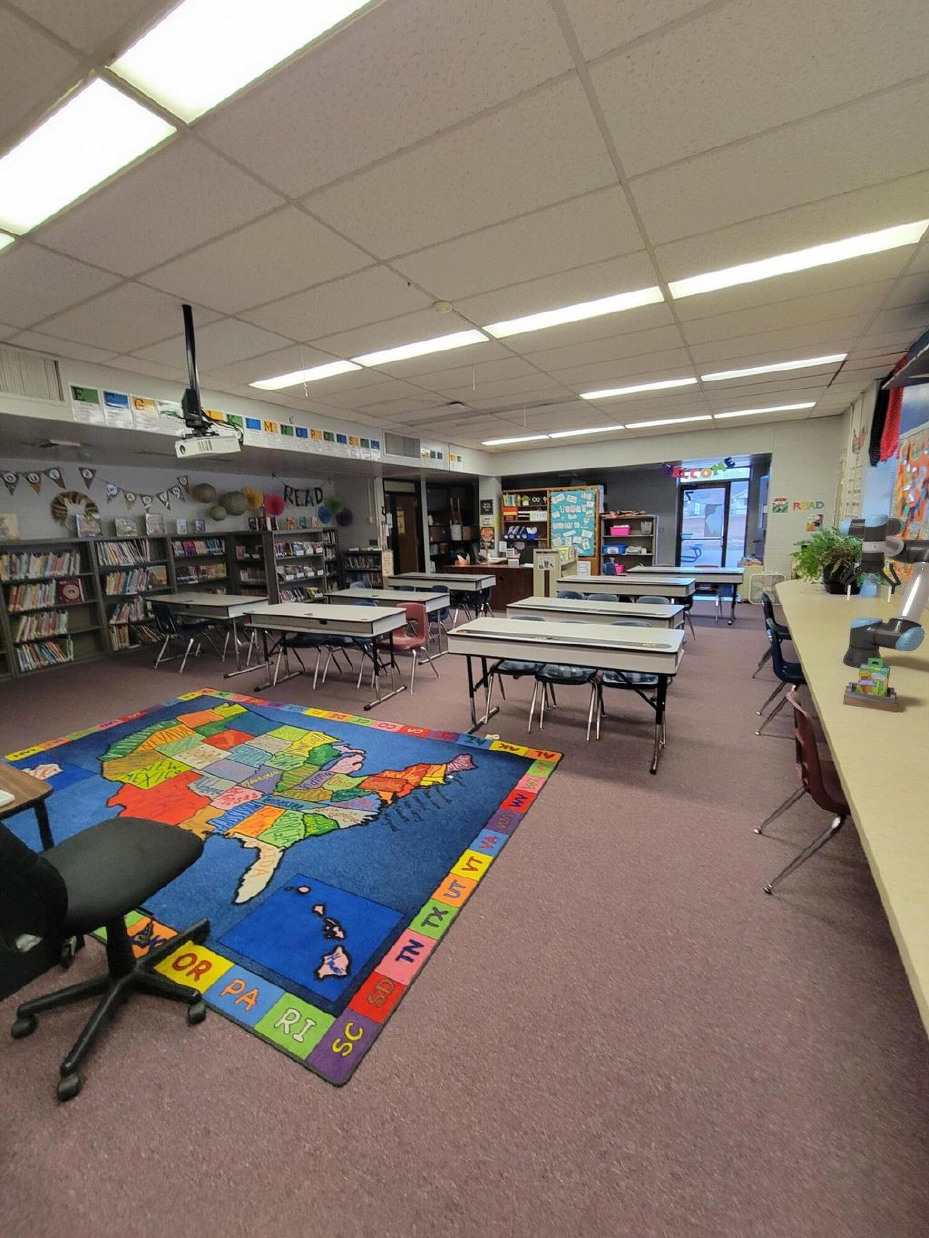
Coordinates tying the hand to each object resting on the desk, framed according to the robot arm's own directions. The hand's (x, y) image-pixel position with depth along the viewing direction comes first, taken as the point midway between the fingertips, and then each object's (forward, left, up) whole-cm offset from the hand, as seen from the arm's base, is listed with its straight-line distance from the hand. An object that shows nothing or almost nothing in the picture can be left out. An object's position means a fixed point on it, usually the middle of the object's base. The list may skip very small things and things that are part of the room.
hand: (868, 600), depth 212 cm
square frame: (+27, +4, -37) cm, 46 cm away
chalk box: (+27, +5, -34) cm, 44 cm away
